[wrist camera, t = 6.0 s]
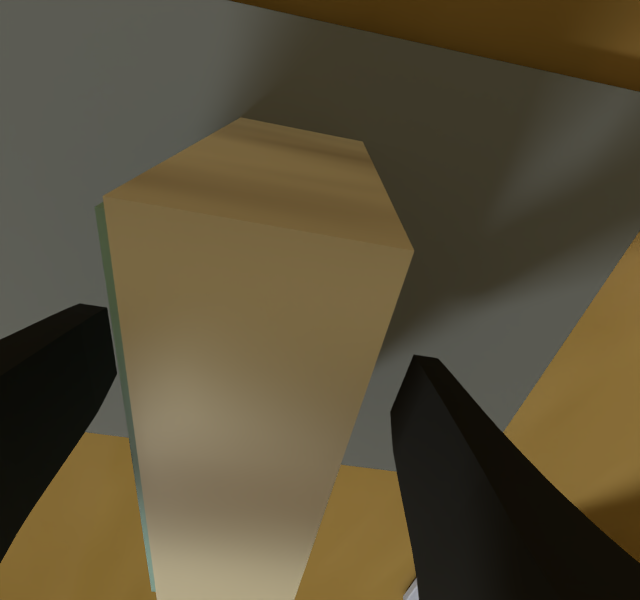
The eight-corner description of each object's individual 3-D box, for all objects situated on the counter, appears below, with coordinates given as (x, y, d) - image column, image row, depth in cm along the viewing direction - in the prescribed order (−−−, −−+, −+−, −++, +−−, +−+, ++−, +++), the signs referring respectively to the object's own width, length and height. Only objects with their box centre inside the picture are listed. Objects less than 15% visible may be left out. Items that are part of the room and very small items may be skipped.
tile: (302, 407, 13) (287, 619, 8) (218, 395, 13) (148, 606, 8) (362, 141, 9) (414, 251, 3) (231, 115, 8) (78, 192, 3)
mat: (697, 107, 9) (721, 109, 8) (465, 467, 16) (470, 480, 15) (-147, -80, 7) (-184, -92, 7) (27, 410, 14) (16, 423, 14)
